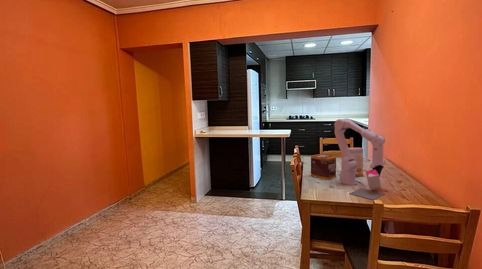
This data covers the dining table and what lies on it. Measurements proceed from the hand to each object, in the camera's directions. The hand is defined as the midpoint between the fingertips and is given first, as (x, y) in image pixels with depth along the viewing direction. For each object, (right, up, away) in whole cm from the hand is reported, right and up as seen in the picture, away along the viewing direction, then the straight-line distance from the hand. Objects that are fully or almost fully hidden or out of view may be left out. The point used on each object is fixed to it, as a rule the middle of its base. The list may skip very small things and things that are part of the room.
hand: (377, 177), depth 156 cm
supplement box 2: (-2, -6, -1) cm, 6 cm away
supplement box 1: (-22, -5, +34) cm, 41 cm away
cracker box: (-1, -5, +34) cm, 34 cm away
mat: (-10, -9, -7) cm, 15 cm away
